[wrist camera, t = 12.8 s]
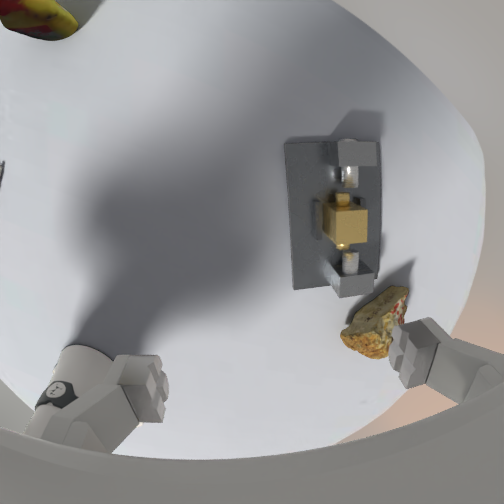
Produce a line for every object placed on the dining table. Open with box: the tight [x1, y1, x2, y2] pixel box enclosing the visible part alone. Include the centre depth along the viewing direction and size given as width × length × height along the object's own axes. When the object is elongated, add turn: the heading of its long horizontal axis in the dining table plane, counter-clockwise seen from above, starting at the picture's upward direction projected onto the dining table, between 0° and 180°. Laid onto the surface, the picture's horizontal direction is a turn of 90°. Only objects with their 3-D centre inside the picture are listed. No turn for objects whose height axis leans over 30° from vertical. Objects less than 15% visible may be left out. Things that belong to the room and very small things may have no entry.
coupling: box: [323, 192, 368, 250], centre depth 37 cm, size 7×4×6 cm, turn 5°
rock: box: [340, 286, 409, 359], centre depth 44 cm, size 12×9×10 cm
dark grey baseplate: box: [284, 139, 381, 298], centre depth 38 cm, size 21×13×5 cm, turn 5°
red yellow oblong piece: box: [0, 0, 78, 41], centre depth 18 cm, size 12×6×20 cm, turn 57°
